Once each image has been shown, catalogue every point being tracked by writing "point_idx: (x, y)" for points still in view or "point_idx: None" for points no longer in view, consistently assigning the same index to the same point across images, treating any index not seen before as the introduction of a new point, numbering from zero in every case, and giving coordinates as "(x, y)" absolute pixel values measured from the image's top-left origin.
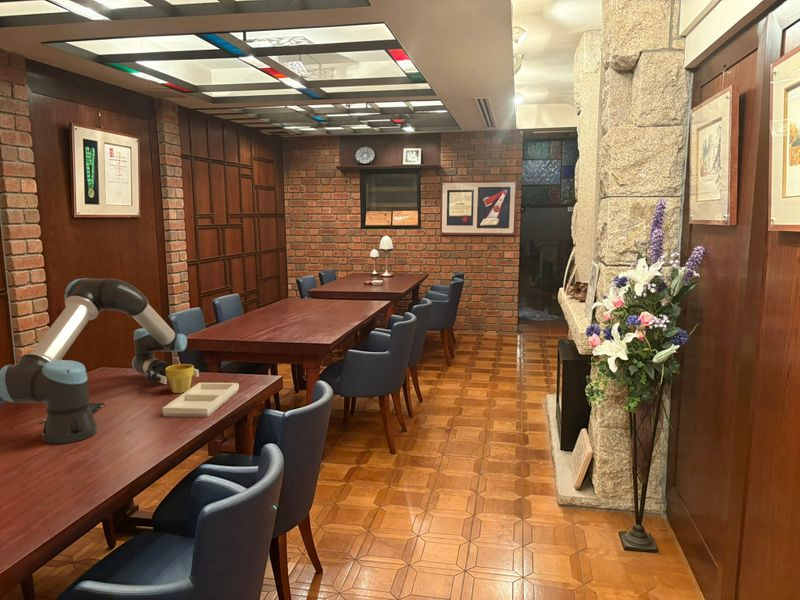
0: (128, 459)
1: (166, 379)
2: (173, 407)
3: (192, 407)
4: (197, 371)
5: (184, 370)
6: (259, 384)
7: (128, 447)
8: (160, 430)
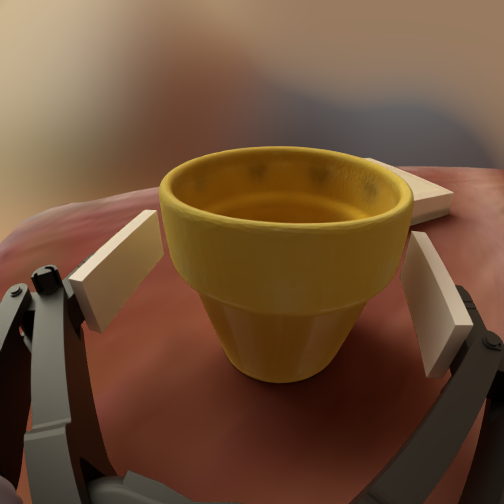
0: (491, 180)
1: (408, 248)
2: (429, 183)
3: (392, 168)
4: (154, 218)
5: (308, 154)
6: (99, 207)
7: (496, 190)
8: (457, 190)
